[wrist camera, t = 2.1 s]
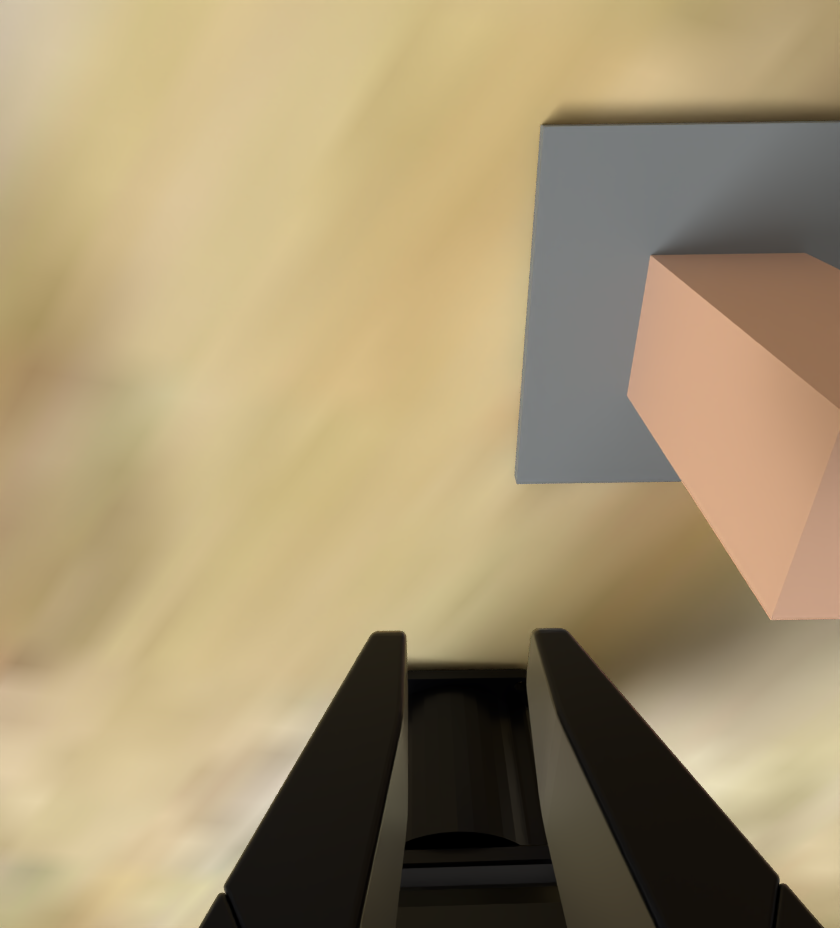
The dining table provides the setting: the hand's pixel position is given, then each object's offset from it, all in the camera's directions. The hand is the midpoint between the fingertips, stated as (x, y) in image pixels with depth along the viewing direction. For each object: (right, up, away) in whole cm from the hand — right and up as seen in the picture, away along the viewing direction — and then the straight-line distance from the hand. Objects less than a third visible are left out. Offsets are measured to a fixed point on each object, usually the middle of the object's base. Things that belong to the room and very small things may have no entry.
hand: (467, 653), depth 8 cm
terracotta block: (+7, +6, +10) cm, 14 cm away
